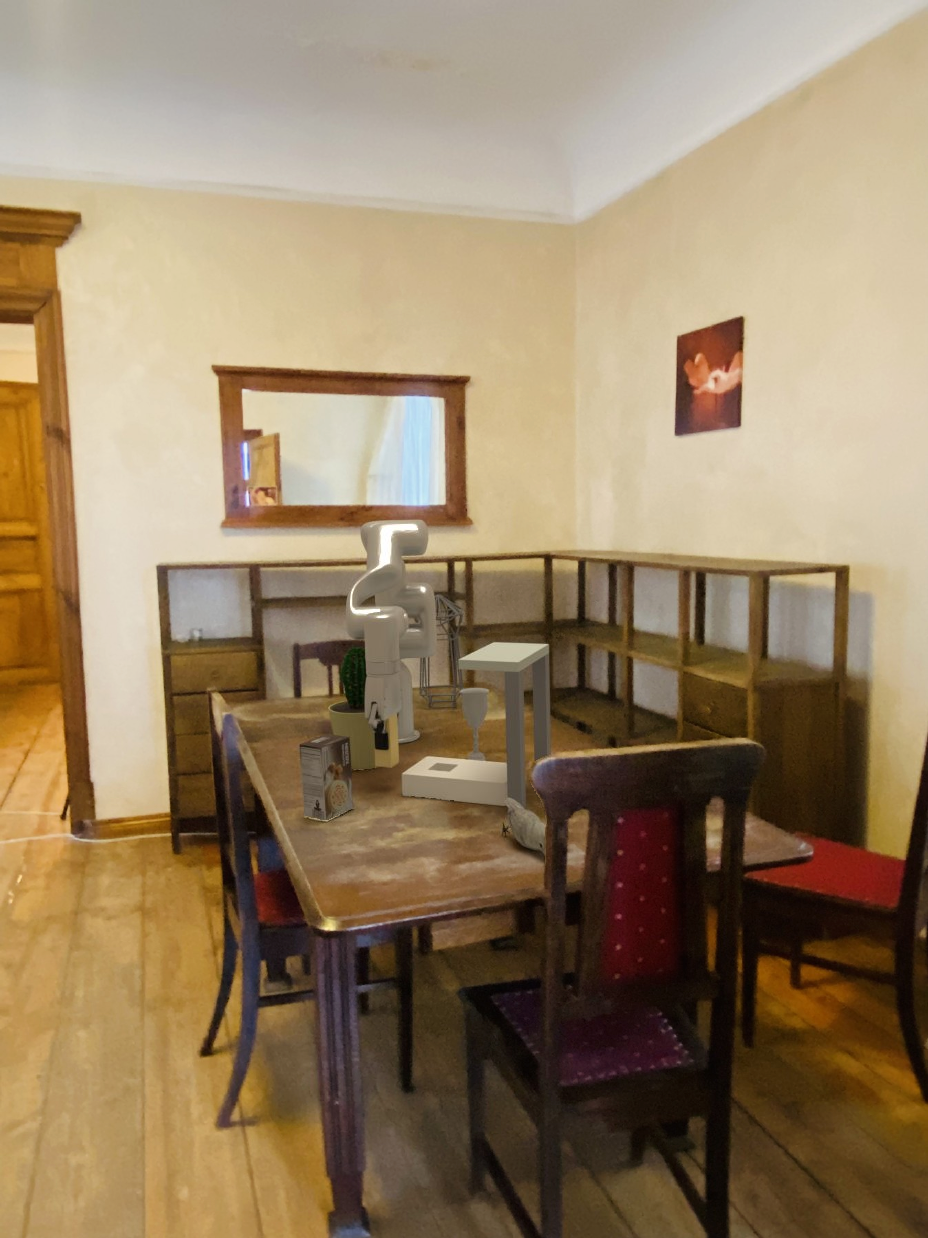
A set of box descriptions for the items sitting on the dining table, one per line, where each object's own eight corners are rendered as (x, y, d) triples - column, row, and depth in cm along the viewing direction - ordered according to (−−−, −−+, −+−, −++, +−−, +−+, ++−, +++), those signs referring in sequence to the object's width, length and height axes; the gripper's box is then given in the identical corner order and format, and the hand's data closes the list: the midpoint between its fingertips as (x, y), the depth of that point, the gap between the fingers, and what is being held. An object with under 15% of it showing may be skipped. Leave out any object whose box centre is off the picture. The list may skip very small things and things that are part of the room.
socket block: (402, 795, 203) (401, 773, 202) (427, 776, 215) (427, 756, 215) (505, 806, 194) (504, 783, 193) (525, 785, 207) (524, 764, 206)
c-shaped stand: (463, 808, 193) (458, 659, 189) (497, 777, 213) (494, 642, 209) (521, 814, 188) (518, 662, 184) (551, 782, 209) (548, 644, 204)
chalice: (494, 759, 228) (492, 688, 225) (486, 767, 221) (484, 694, 219) (466, 757, 230) (464, 687, 228) (458, 765, 224) (455, 693, 221)
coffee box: (331, 805, 198) (327, 732, 196) (354, 809, 195) (351, 736, 192) (302, 818, 190) (298, 743, 188) (326, 823, 187) (322, 747, 185)
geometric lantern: (466, 710, 279) (463, 596, 274) (415, 711, 280) (410, 598, 275) (467, 698, 295) (463, 591, 290) (418, 700, 295) (414, 592, 290)
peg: (375, 766, 206) (372, 714, 204) (383, 760, 210) (380, 709, 208) (391, 767, 205) (389, 715, 203) (399, 762, 208) (396, 711, 206)
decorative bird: (539, 865, 163) (538, 825, 162) (496, 837, 177) (495, 800, 176) (565, 859, 166) (564, 820, 165) (521, 831, 180) (520, 795, 179)
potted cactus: (319, 770, 223) (313, 649, 219) (348, 753, 237) (343, 639, 233) (376, 775, 218) (371, 651, 213) (403, 757, 232) (398, 640, 228)
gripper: (384, 658, 212) (387, 734, 216) (350, 674, 197) (354, 756, 200) (413, 660, 210) (416, 737, 213) (381, 676, 194) (385, 759, 198)
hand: (386, 745), depth 207 cm, fingers closed on peg, 4 cm apart
